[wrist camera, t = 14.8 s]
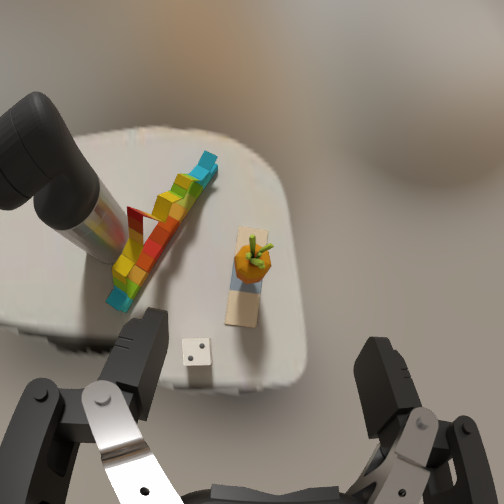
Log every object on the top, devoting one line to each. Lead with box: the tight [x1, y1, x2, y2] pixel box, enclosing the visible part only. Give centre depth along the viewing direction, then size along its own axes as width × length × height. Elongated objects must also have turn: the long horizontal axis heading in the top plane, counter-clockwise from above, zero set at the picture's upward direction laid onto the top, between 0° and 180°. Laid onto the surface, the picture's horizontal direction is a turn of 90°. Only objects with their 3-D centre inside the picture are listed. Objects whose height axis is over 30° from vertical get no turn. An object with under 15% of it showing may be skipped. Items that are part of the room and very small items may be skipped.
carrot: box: [234, 234, 274, 284], centre depth 42 cm, size 5×5×15 cm
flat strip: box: [225, 226, 268, 328], centre depth 49 cm, size 5×16×1 cm, turn 173°
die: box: [182, 338, 212, 366], centre depth 43 cm, size 4×4×4 cm
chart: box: [105, 151, 218, 313], centre depth 43 cm, size 30×3×15 cm, turn 152°
